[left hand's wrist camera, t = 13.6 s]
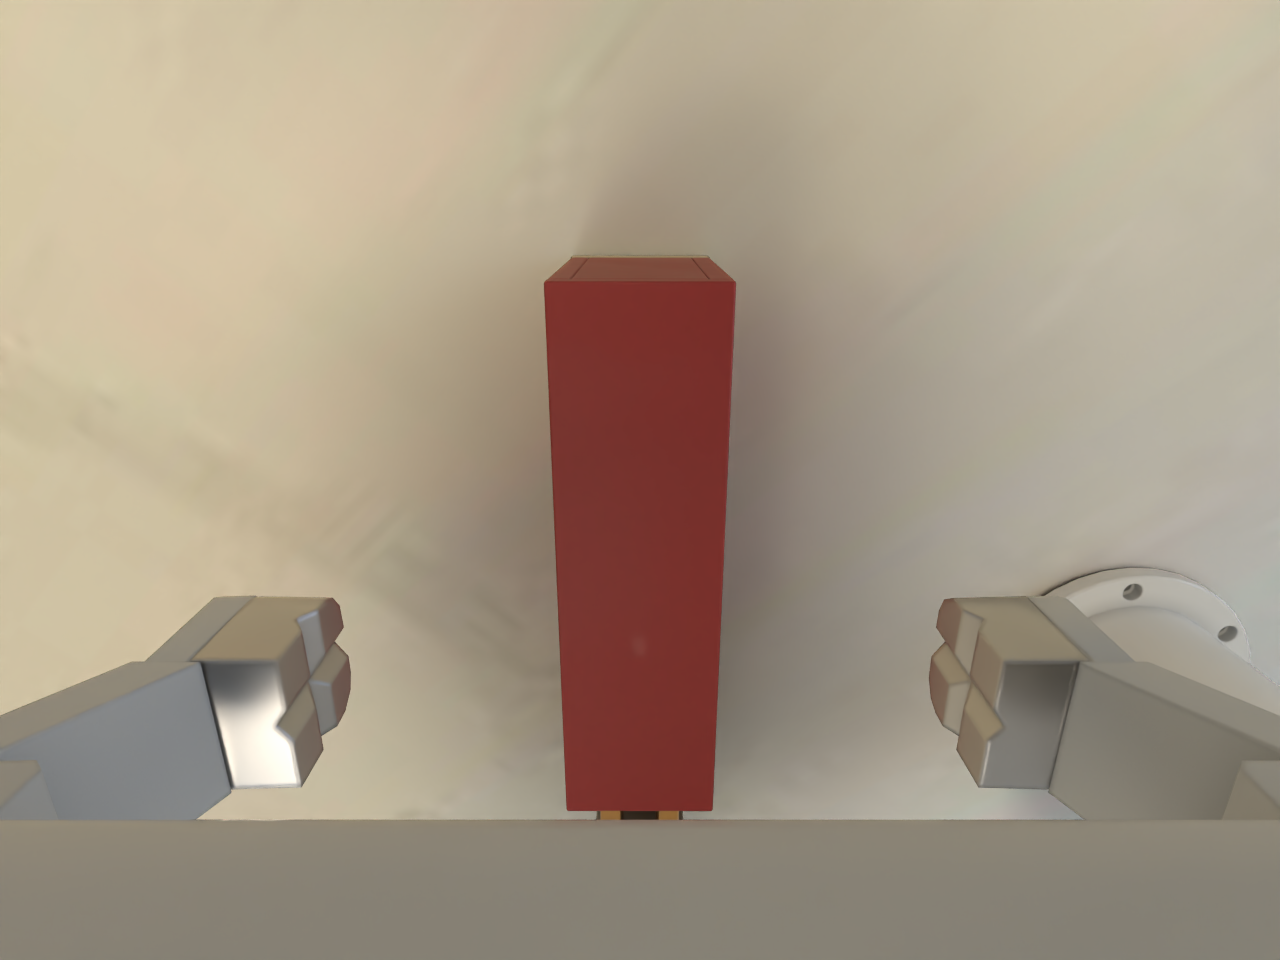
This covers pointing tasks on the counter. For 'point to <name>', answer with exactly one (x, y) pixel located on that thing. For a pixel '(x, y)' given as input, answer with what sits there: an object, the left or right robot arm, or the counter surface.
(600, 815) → the drawer
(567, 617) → the cabinet
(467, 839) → the left robot arm
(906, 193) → the counter surface
